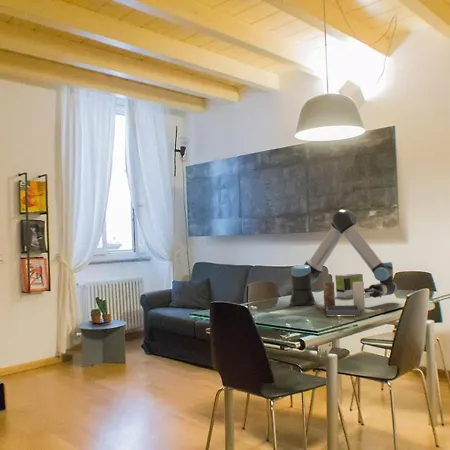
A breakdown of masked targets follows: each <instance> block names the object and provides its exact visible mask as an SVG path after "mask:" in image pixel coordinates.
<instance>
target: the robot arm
mask: <svg viewBox="0 0 450 450" xmlns="http://www.w3.org/2000/svg"><path fill="white" fill-rule="evenodd" d="M331 219H332V221H331V223H330V230H329V231H328V232H327V234H326V236H325V237H324V239H322V242H321V243H320V244H319V246H318V248H317V249H316V251H315V252H314V253H313V255H312V257H310V259H306V261H305V262H304V264H298V265H294V266H292V267H291V273H290V274H291V290H292V292H291V294H290V295H291V296H290V299H289V305H290V304H291V306H296V305H306V306H312V305H315V304H316V299H315V297H314V294H313V292H312V284H315V283H317V282H318V280H319V279H320V276H321V273H322V272H323V267H324V265H325V263H326V261H327V260H328V259H329V257H330V256H331V254H333V251H334V250H335V248H336V247H337V246H338V244H339V243H340V241H341V240H342V238H343V237H345V238H346V240H347V241H348V243H350V244H351V246H352V247H353V249H354V250H355V252H356V253H357V254H358V255H359V257H360V258H361V259H362V260H363V261H364V263H365V264H366V265H367V267H368V268H369V269H370V270H371V272H372V274H373V276H374V278H375V279H376V280H377V281H378V283H374V284H373V283H372V284H371V285H369V287H367V288H364V299H369V298H373V299H375V298H382V297H384V296H392V295H393V294H395V293H396V292H397V291H398V285H397V283H395V282H394V270H393V269H394V267H393V263H392V262H391V261H382V260H381V259H380V258H379V257H378V255H377V254H376V252H375V251H374V250H373V249H372V247H371V246H370V245H369V244H368V242H367V241H366V239H365V238H363V236H362V235H361V233H360V232H359V231H358V229H356V224H357V221H358V220H357V215H356V214H355V213H354V212H353V211H351V210H349V209H339V210H337V211H335V212H334V214H333V215H332V218H331ZM344 294H345V296H349V295H351V296H352V295H353V289H351V290H350V289H349V290H348V291H344Z"/></svg>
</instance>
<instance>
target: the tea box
mask: <svg viewBox="0 0 450 450" xmlns="http://www.w3.org/2000/svg"><path fill="white" fill-rule="evenodd" d="M334 276H335V277H334V278H335V293H336V297H337V298H342V299H349V298H353V295H352V296H351V295H349V296H345V294H344V291H348V290H349V289H350V290H351V289H353V283H352V282H364V280H363V279H364V278H363V273H343V274H335V275H334Z"/></svg>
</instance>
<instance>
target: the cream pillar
mask: <svg viewBox="0 0 450 450" xmlns="http://www.w3.org/2000/svg"><path fill="white" fill-rule="evenodd" d="M352 283H353V297H352V300H353V302H352V304H353V305H358V307H359V309H360V311H363V310H364V309H365V310H366V303H365V301H366V300H365V295H364V294H365V292H364V289H365V285H364V284H365V282H364V281H363V282H352Z"/></svg>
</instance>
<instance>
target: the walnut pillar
mask: <svg viewBox="0 0 450 450" xmlns="http://www.w3.org/2000/svg"><path fill="white" fill-rule="evenodd" d="M322 287H323V288H322V289H323V304H324V305H323V307H324V308H325V309H326V306H336V298H335V297H336V296H335V295H336V294H335V293H336V291H335V281H324V282H323V283H322ZM325 309H324V310H325Z"/></svg>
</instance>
